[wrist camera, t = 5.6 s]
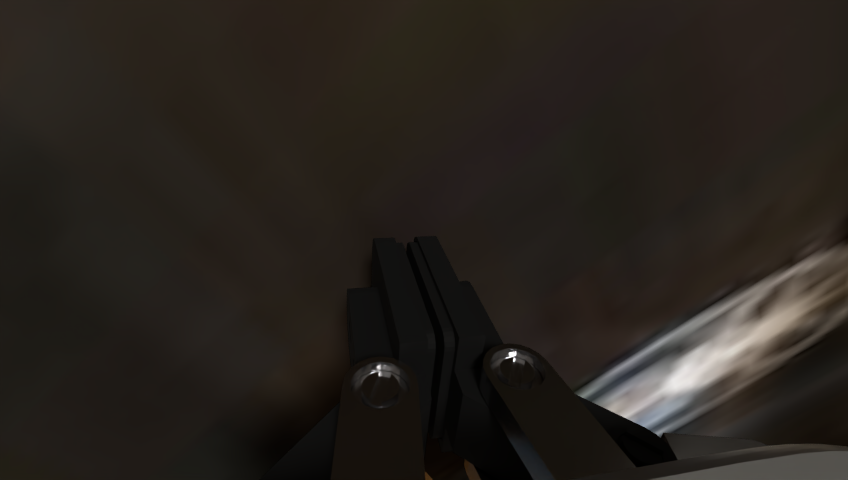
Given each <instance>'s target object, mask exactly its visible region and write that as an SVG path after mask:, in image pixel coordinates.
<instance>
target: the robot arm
mask: <svg viewBox="0 0 848 480" xmlns="http://www.w3.org/2000/svg"><path fill="white" fill-rule="evenodd" d="M347 324H348V341H349V352H350V363H351V368H350V370H349V371H348V372H347V373H346V375H345V378H344V381H343V384H342V391H341V400H340V402H339V403H338V404H337V405H336V406H335V407H334V408H333V409H332V410H331V411H330V412H329V413H328V414H327V415H326V416H325V417H324V418H323V419H322V420H321V421H320V422H319V423H318V424H316V425H315V426H314V427H313V428H312V429H311V430H310V431H309V432H308V433H307V434H306V435H305V436H304V437H303V438H302V439H301V440H300V441H299V442H298V443H297V444H296V445H295V446H294V447H293V448H292V449H291V450H290V451H289V452H287V453H286V454H285V455H284V456H283V457H282V458H281V459H280V460H279V461H278V462H277V463H276V464H275V465H274V466H273V467H272V468H271V469H270V470H269V471H268V472H267V473H266V474H265V475H264V476H263V477H262V478H261V479H259V480H425V469H424V456H425V448H426V440H427V432H428V433H429V436H430V438H431V439H434V438H438V441H439V445H440V448H441V452H449V451H453V453H455V454H457V455H458V456H460V457H462V458H463V459H464V467H465V470H466V473H467V476H468V478H469V480H848V447H847V446H837V445H827V444H783V445H773V446H767V445H765V444H763V443H761V442H758V441H754V440H749V439H741V438H727V437H713V436H700V435H686V434H672V433H663V435H662V436H661V438H660V437H659V436H657V435H656V434H655V433H653V432H651V431H650V430H648V429H646V428H645V427H643V426H640V425H638V424H636V423H634V422H632V421H630V420H628V419H626V418H624V417H622V416H619V415H617V414H615V413H613V412H611V411H609V410H607V409H605V408H603V407H601V406H599V405H596V404H594V403H592V402H590V401H588V400H586V399H584V398H582V397H580V396H578V395H575V394H574V392H573V391H572V390H571V389H570V388H569V386H568V385H567V384H566V383H565V382H564V380H563V379H562V378H561V377H560V376H559V375H558V373H557V372H556V371H555V370H554V369H553V367H552V366H551V365H550V364H549V363H548V361H547V360H546V359H545V358H543V357H542V356H541V355H540V354H539V353H537V352H536V351H534V350H532V349H530V348H528V347H525V346H522V345H518V344H503V342H502V340H501V338H500V336H499V335H498V333H497V331H496V329H495V327H494V325H493V324H492V322H491V320H490V318H489V316H488V314H487V312H486V311H485V309H484V307H483V305H482V303H481V301H480V300H479V298H478V296H477V294H476V292H475V290H474V288H473V287H472V285H471V284H470V282H468V281H462V282H459V280H458V278H457V276H456V274H455V272H454V270H453V268H452V266H451V264H450V262H449V261H448V259H447V257H446V255H445V253H444V251H443V249H442V247H441V245H440V243H439V241H438V239H437V237H436V236H425V237H415V239H414V242H408V243H407V251H405V248H404V245H403V243H396V241H395V238H374V239H373V246H372V287H368V288H353V289H347Z"/></svg>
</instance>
